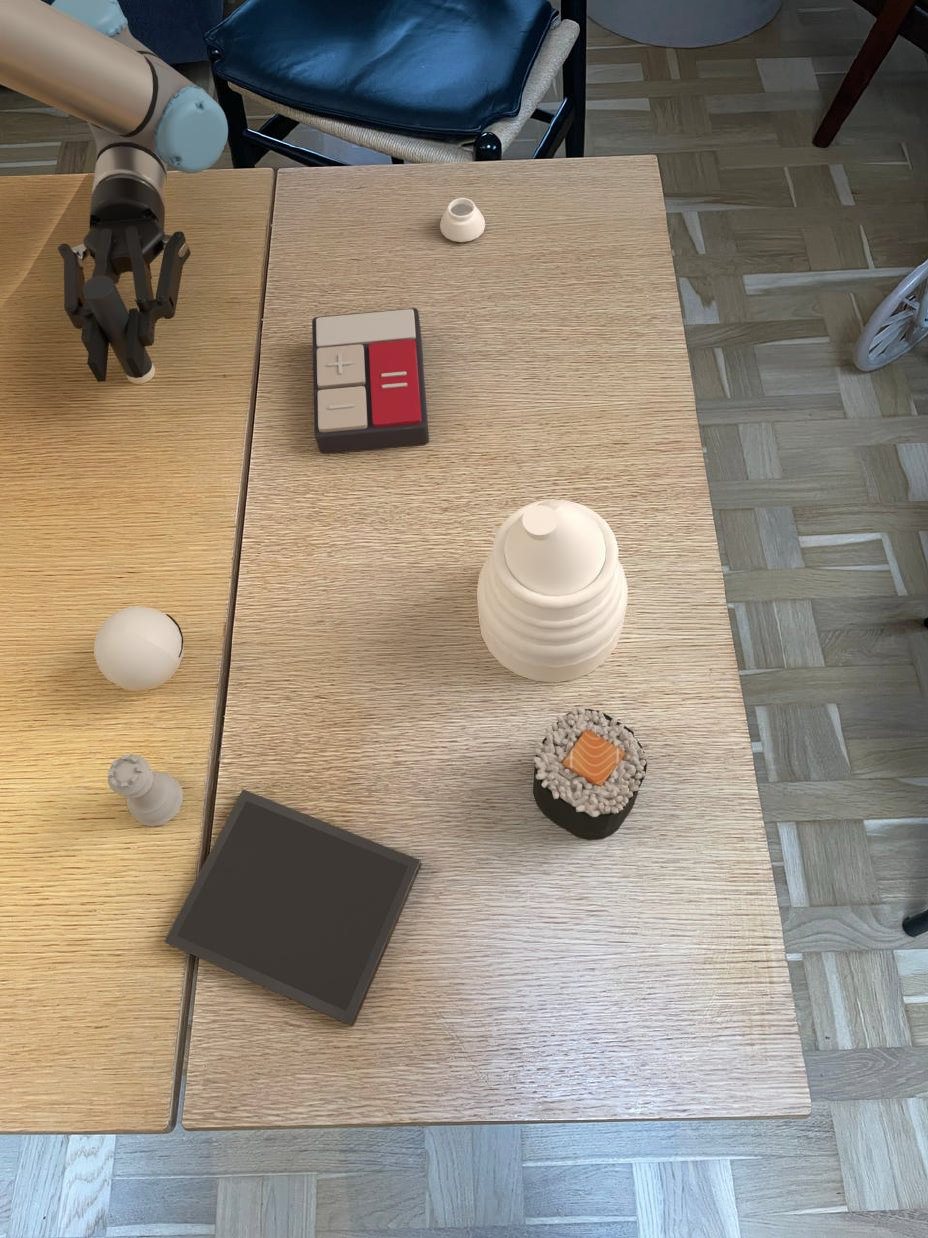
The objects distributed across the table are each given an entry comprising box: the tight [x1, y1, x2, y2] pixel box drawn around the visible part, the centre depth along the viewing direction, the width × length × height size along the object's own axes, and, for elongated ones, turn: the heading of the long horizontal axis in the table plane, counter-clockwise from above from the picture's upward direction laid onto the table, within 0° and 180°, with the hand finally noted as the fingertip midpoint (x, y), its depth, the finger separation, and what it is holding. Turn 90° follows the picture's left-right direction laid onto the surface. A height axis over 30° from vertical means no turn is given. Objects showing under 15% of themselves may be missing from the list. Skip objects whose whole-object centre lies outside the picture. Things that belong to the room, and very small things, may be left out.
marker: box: [83, 276, 156, 385], centre depth 98 cm, size 3×3×12 cm
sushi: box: [532, 706, 649, 841], centre depth 77 cm, size 8×8×8 cm
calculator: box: [311, 307, 430, 454], centre depth 99 cm, size 11×4×15 cm
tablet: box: [163, 789, 423, 1027], centre depth 77 cm, size 16×13×1 cm
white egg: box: [93, 590, 184, 692], centre depth 85 cm, size 10×7×7 cm
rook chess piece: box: [107, 753, 184, 827], centre depth 78 cm, size 4×4×8 cm
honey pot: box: [476, 498, 629, 683], centre depth 80 cm, size 13×13×18 cm
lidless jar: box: [439, 197, 486, 243], centre depth 110 cm, size 5×3×5 cm
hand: (115, 369), depth 95 cm, fingers closed on marker, 3 cm apart
